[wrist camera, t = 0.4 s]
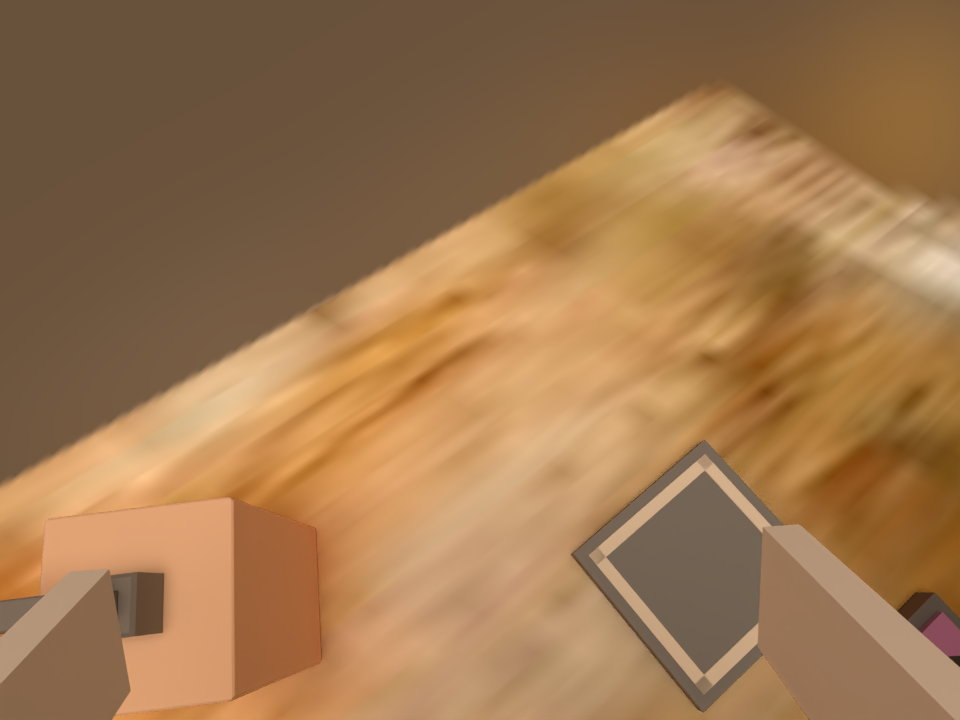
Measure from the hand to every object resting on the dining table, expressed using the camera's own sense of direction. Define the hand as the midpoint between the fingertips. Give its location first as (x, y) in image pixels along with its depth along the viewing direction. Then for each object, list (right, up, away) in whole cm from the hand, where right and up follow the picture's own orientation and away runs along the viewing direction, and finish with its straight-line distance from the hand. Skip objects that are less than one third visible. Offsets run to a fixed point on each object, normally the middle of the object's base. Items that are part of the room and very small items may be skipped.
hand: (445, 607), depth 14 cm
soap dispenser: (-16, -11, +32) cm, 37 cm away
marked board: (+15, -9, +32) cm, 36 cm away
